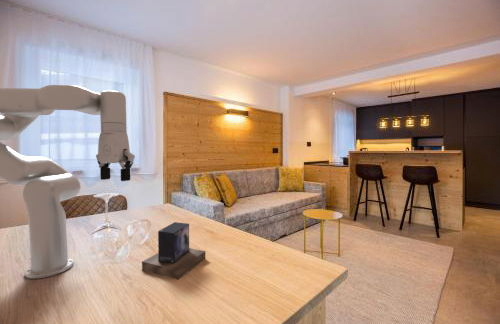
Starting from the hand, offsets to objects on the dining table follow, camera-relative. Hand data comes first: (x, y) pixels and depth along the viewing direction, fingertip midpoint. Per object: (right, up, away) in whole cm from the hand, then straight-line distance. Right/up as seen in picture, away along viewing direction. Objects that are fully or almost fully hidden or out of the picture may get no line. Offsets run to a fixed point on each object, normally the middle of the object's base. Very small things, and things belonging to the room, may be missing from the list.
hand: (115, 180), depth 80 cm
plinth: (+19, -30, +3) cm, 36 cm away
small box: (+19, -27, +3) cm, 33 cm away
